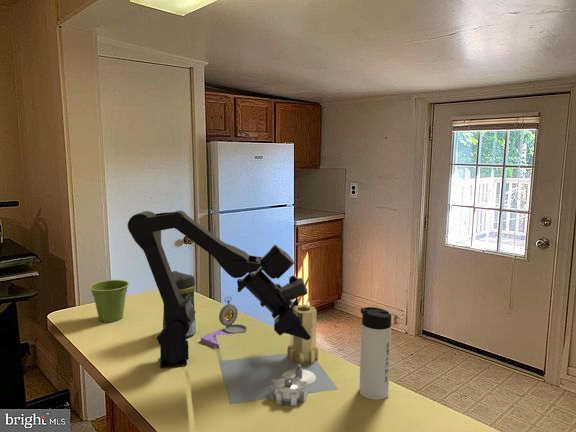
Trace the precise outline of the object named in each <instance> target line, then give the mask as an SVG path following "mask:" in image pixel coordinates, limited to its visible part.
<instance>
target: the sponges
mask: <svg viewBox="0 0 576 432" xmlns="http://www.w3.org/2000/svg"><path fill="white" fill-rule="evenodd" d="M221 336H222V337H224V336H225V337H233V334H228V333H226V332H225V331H222V330H219V329H217V330H214V331H213V332H211V333H208V334H205V335H203V336H200V342H201V343H203V344H206V345H208V346H210V347H211V346H212V347H213V348H216V349H220V346H222V344H221V343H218V338H217V337H221ZM223 347H225V348H226V349H229V350H232V347H227V346H224V345H223Z"/></svg>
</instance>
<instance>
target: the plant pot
mask: <svg viewBox="0 0 576 432" xmlns="http://www.w3.org/2000/svg"><path fill="white" fill-rule="evenodd" d="M129 286H130V282H129V281H126V280H123V279H108V280H102V281H97V282H95V283H92V284H90V285H89V290H90V291H91V293H92V296H93V298H94V303H95V308H96V312H97V316H98V321H100V322H105V323H111V322H112V323H113V322H117V321H118V320H122V319H123V318H124V311H125V303H126V296H127V292H128V287H129Z"/></svg>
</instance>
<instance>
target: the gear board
mask: <svg viewBox="0 0 576 432" xmlns="http://www.w3.org/2000/svg"><path fill="white" fill-rule="evenodd" d="M287 357H288V352H287V353H281V354H280V353H278V354H268V355H260V356H254V357H253V356H251V357H241V358H233V359H225V360H219V361H218V363H219V367H220V369H221V374H222V378H223V382H224V385H225V388H226V389H225V390H226V393H227V396H228V400H229V404H230V405H233V404H239V403H247V402H254V401H261V400H262V401H263V400H267V399H270V398H269V386H271V381H272V380H273V379H275V380H278V379H281V376H287V378H294V377H299V378H300V381H302V382H306V383H307V384H308V385H307V394H312V393H319V392H328V391H334V390H338V389H339V388H338V387H337V385H336V384H335V383H334V381H333V380H332V379H331V377H330V376H329V375H328V374H327V372H326V371H325V370H324V368H323V367H322V365H321V364H320V363H319V361H318V360H315V363H313V364H310V363H304V365H299V363H297V362H293V363H292V362H290V358H287Z"/></svg>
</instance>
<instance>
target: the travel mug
mask: <svg viewBox="0 0 576 432" xmlns="http://www.w3.org/2000/svg"><path fill="white" fill-rule="evenodd" d="M360 314H362V316H361V319H362V320H361V330H360V331H361V337H360V361H359V362H360V363H359V364H360V365H359V366H360V367H359V389H358V390H359V393H360V395H361V396H362V397H365V398H367V399H370V400H384V399H386V401H387V400H389V385H390V365H391V363H390V361H391V342H392V341H391V340H392V314H391V313H389V311H387V310H385V309H383V308H379V307H374V306H367V307H366V306H365V307H361V308H360Z"/></svg>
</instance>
